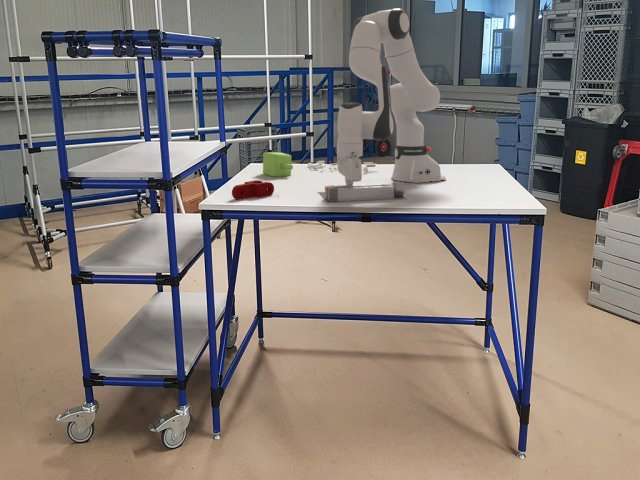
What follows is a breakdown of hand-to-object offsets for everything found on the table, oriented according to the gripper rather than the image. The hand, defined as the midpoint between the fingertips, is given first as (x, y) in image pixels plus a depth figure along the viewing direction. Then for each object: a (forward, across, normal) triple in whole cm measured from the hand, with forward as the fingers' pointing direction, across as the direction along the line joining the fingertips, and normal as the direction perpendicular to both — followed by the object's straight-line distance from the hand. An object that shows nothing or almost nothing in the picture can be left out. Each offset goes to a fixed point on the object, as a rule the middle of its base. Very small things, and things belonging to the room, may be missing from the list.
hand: (349, 190), depth 205 cm
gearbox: (+4, +57, +17) cm, 59 cm away
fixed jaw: (+2, -5, -5) cm, 7 cm away
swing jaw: (+2, -2, -3) cm, 4 cm away
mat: (+3, +1, -5) cm, 6 cm away
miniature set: (+4, +64, -12) cm, 65 cm away
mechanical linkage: (+4, +12, +33) cm, 36 cm away
